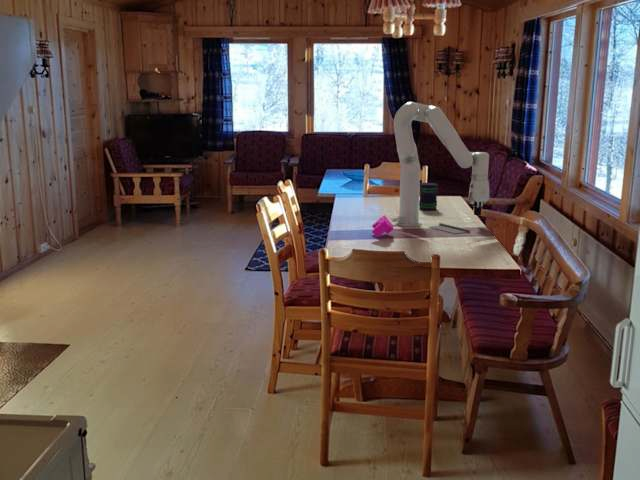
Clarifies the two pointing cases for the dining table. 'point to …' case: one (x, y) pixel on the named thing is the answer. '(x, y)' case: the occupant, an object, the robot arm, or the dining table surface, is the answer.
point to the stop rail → (454, 227)
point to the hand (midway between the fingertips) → (477, 214)
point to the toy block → (382, 226)
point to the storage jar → (428, 196)
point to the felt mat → (447, 229)
